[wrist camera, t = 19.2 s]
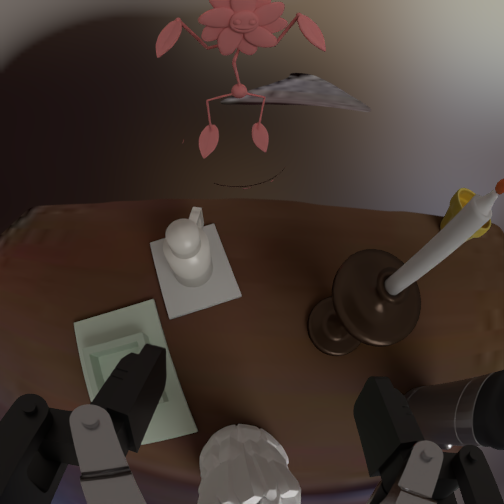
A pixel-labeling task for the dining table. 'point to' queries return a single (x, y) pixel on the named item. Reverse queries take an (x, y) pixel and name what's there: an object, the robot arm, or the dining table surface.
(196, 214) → the cream jug
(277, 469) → the decorative vase
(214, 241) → the grey mat
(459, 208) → the plant pot
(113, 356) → the tray
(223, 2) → the figurine
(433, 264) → the candlestick
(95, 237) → the dining table surface
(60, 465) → the robot arm
